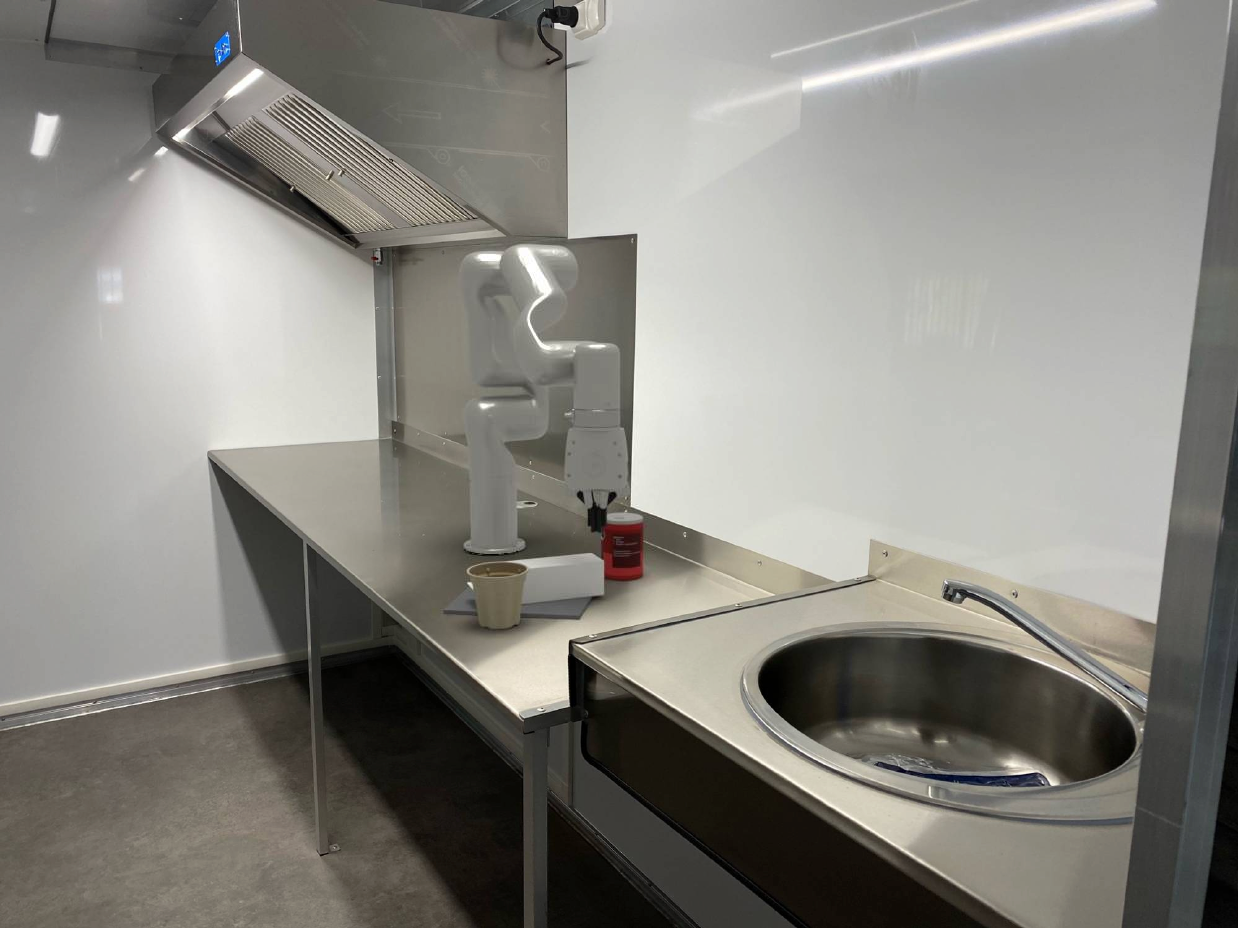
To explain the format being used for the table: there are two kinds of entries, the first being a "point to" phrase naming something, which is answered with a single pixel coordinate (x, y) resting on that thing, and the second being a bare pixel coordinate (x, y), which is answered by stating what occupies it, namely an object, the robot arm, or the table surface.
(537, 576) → the milk
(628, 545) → the canned food
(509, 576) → the flower pot
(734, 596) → the table surface
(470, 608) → the mat
